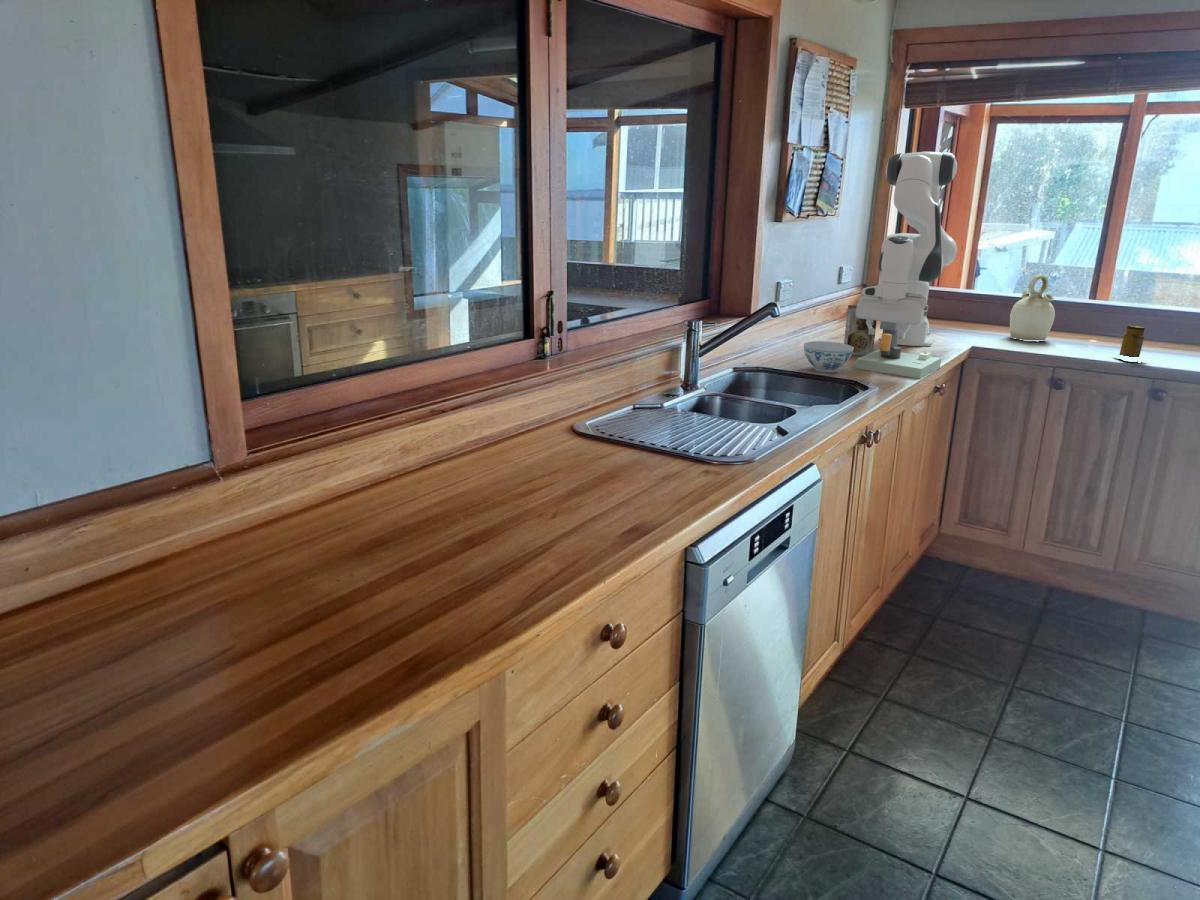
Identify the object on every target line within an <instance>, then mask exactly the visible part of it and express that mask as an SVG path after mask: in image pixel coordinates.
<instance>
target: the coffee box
mask: <svg viewBox="0 0 1200 900" xmlns="http://www.w3.org/2000/svg"><path fill="white" fill-rule="evenodd" d="M856 308H857V304H848V306H847V313H846V320H845V321H846V322H845V332H844V339H843V344H847V345H850V346H852V347H854V350H853V353H852V355H853V356H865V355H867V354H869V353H872V352H874V346H875V338H876V330H877V324H878V323H877V321H876V320H873V322H872V323H871V325H872V328H874V329H875V331H874V332H875V334H874V335H870V334H868V331H869V329H868V326H867V324H866V319H860V318H857V317H856ZM852 355H851V356H852Z"/></svg>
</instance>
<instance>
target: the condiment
mask: <svg viewBox="0 0 1200 900" xmlns="http://www.w3.org/2000/svg"><path fill="white" fill-rule="evenodd" d="M1145 329H1146V328H1145V327H1144V326H1140V325H1132V324H1131V325H1130V324H1129V325H1127V327H1126V330H1125V331H1126V332H1125V333H1124V334H1123V338H1122V342H1121V346H1120V350H1119V355H1123V356H1129V357H1139V358H1140V355H1141V352H1142V347H1143V345H1144V344H1143V343H1144V340H1145V336H1144V334H1145ZM1119 355H1118V356H1119Z"/></svg>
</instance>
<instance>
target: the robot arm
mask: <svg viewBox="0 0 1200 900" xmlns="http://www.w3.org/2000/svg"><path fill="white" fill-rule="evenodd" d="M957 171H958V162H957V160H956V156H955V155H954V153H952V152H946V151H943V152H939V151H919V152H918V151H917V152H914V151H913V152H906V153H903V152H901V153H895V154H892V155H891V156H890V157H889V159H888V162H887V164H886V166H885V177H886V180H887V182H888V184H889V185H891V186H894V194H893V205H894V208H896V210H897V211H898V212H899V214H901V215H902V216H903V217H904V220H905V221H906V223H907V225H908V226H910V227H912V228H914V229H915V230H916V231H917V232H918V233H907V232H900V233H893V234H892V233H891V234H888V236H887V237H885V238H884V240H883V242H882V243H881V248H880V249H881V253H880V254H879V262H878V268H877V270H878V271H879V272H880V273H881V274H880V277H879V279H878V284H873V285H872V286H867V287H864V288H862V290H861V294H862V295H861V296H860V297H859V299H858V301H857V304H856V305H857V308H856V317H857V318H860V319H866V324H867V326H868V329H869V331H868V334H870V335H874V334H875V335H876V331H875V329H874V328H872V325H871V323H872V322H873V320H876V321H878V322H881V321H884V322H892V323H900V324H903V328H901V329H899V335H898V342H897V345H900V346H901V345H902V346H912V347H913V346H914V347H915V346H916V347H921V346H922V347H923V346H924V347H932V345H933V342H934V341H935V339H934V337H933V336H930V333H931V332H930V323H929V319H928V317H927V315H928V311H929V305H928V300H929V294H930V293H929V290H930V284H929V283H932V282H933V281H935V280H937V279H938V278H940V277H941V275H942V273H943V270H944V267H948V266H950V265H951V264H952V263H953V262H954V260H955V259H956V258H957V254H958V246H957V243H956V241H955V240H954V238H953V237H951V236H950V235H949V234H948V233H947V232H946V231H945V230H944V228H943V227H942V220H941V210H940V209H941V207H940V206H939V205H940V192H941V191H940V190H941V189H940V187H943V186H947V185H949V184H951V183H952V182H953V181H954V178H955V177H956V174H957ZM874 331H875V332H874ZM881 336H882V335H880V336H879V340H881Z"/></svg>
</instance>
